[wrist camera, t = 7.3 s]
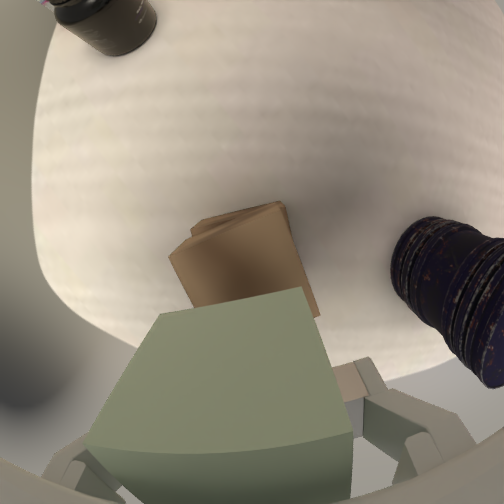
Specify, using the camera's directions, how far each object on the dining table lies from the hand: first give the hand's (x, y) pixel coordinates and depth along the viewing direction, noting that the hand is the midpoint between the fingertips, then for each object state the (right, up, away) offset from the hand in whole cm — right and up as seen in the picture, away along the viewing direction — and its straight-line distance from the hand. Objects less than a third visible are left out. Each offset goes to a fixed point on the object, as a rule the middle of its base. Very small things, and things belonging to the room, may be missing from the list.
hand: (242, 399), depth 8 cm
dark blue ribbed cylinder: (+19, +4, +18) cm, 26 cm away
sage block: (0, +1, +2) cm, 2 cm away
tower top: (0, +4, +13) cm, 14 cm away
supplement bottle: (-12, +27, +12) cm, 32 cm away
